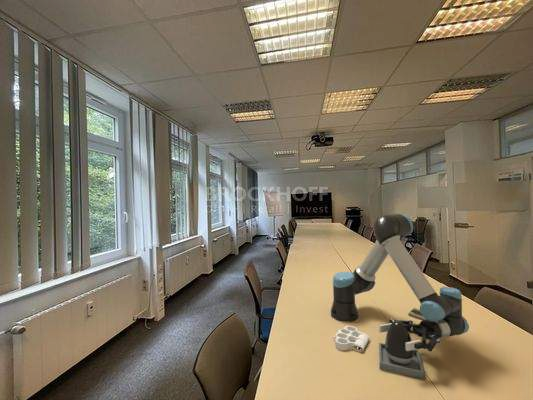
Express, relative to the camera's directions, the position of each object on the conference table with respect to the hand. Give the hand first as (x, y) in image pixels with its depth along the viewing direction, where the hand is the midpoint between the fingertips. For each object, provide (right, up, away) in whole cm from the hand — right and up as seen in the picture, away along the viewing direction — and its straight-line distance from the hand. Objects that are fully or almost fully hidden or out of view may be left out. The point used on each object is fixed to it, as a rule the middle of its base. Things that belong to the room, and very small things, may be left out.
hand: (392, 337), depth 98 cm
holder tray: (+3, -10, +1) cm, 11 cm away
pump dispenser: (+3, -10, +1) cm, 10 cm away
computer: (+38, -11, +37) cm, 54 cm away
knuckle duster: (-11, -12, +16) cm, 23 cm away
